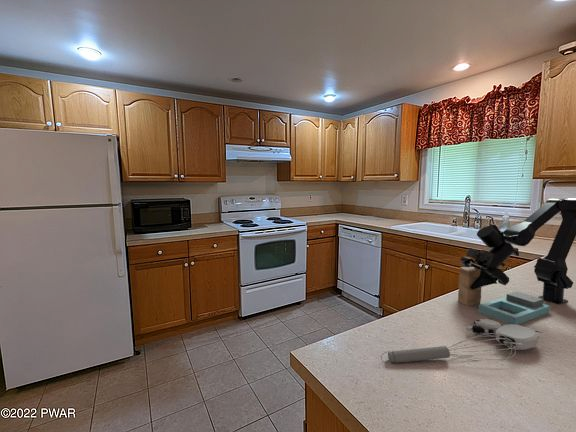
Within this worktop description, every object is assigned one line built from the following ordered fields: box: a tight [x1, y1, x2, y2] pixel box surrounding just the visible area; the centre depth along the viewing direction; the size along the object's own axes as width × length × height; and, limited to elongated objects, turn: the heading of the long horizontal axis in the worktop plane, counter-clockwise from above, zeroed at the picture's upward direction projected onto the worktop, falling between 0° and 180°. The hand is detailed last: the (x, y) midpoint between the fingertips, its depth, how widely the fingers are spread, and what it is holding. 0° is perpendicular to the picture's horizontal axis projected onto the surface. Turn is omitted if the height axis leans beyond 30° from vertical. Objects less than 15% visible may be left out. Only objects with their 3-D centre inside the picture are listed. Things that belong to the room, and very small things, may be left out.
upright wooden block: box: [457, 266, 482, 307], centre depth 103 cm, size 5×5×13 cm
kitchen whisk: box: [380, 333, 517, 364], centre depth 71 cm, size 6×34×6 cm, turn 92°
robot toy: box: [465, 317, 544, 351], centre depth 79 cm, size 12×4×15 cm
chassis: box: [478, 291, 551, 325], centre depth 96 cm, size 20×11×4 cm, turn 114°
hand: (465, 285), depth 103 cm, fingers closed on upright wooden block, 5 cm apart
